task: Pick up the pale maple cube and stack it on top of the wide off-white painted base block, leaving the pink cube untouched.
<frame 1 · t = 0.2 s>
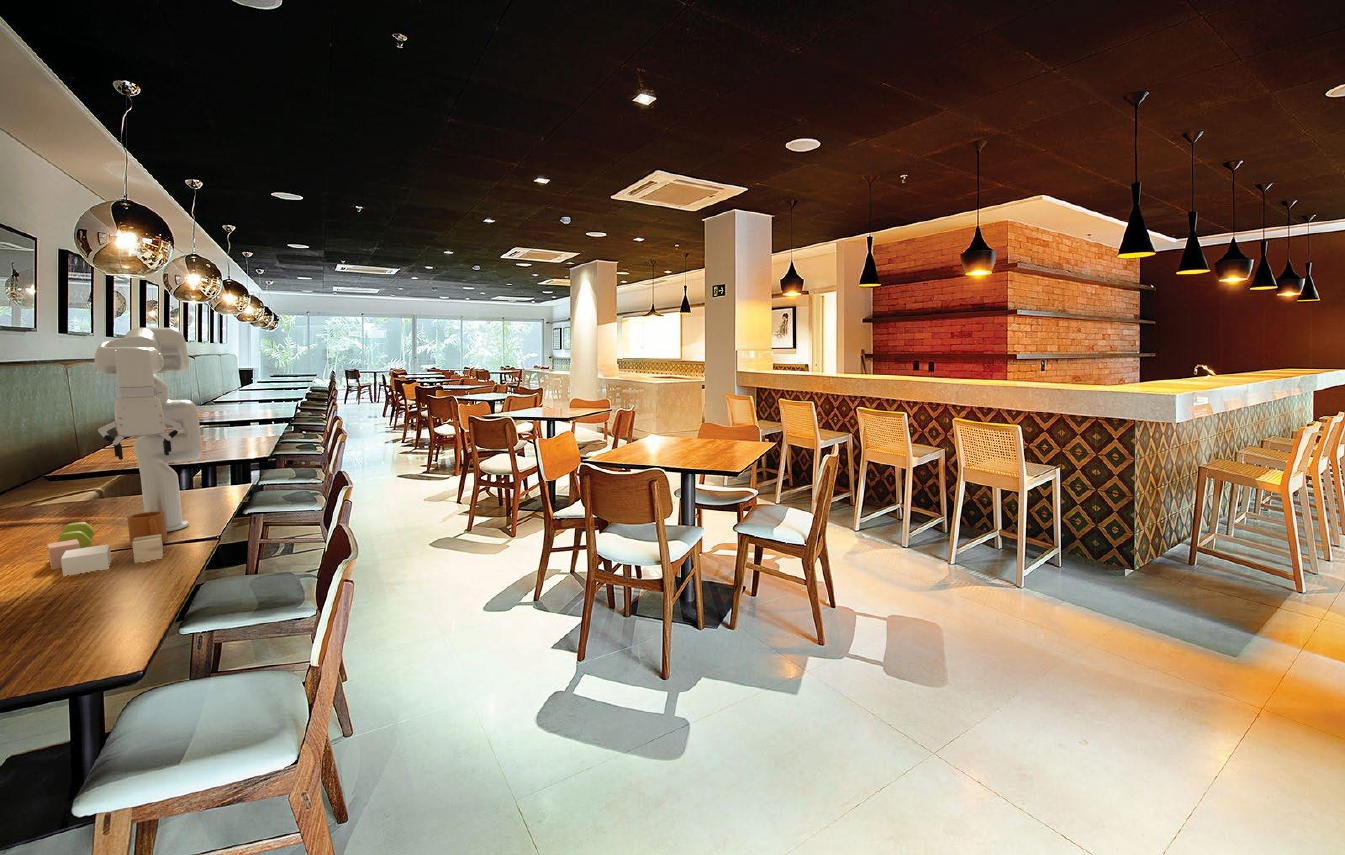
hand: (144, 457, 172), 30 cm above the table, tool pointing down, fingers open, 9 cm apart
dumbbell: (76, 551, 189), on the table
maple cube: (149, 559, 181), on the table
mug: (149, 544, 195), on the table
base block: (88, 569, 173), on the table
pink cube: (66, 564, 177), on the table
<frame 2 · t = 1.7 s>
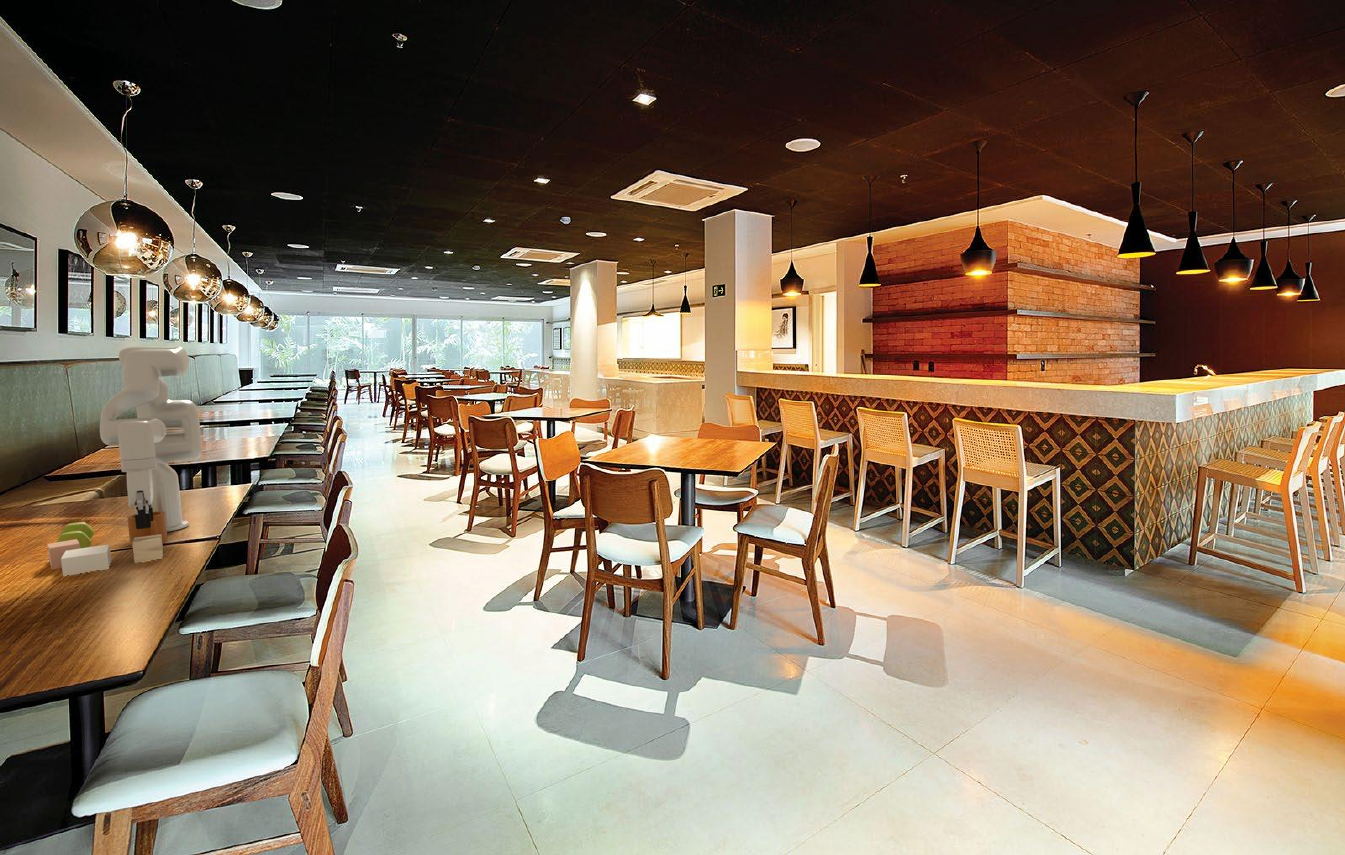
hand: (145, 524, 179), 10 cm above the table, tool pointing down, fingers open, 9 cm apart
nothing on the table moved.
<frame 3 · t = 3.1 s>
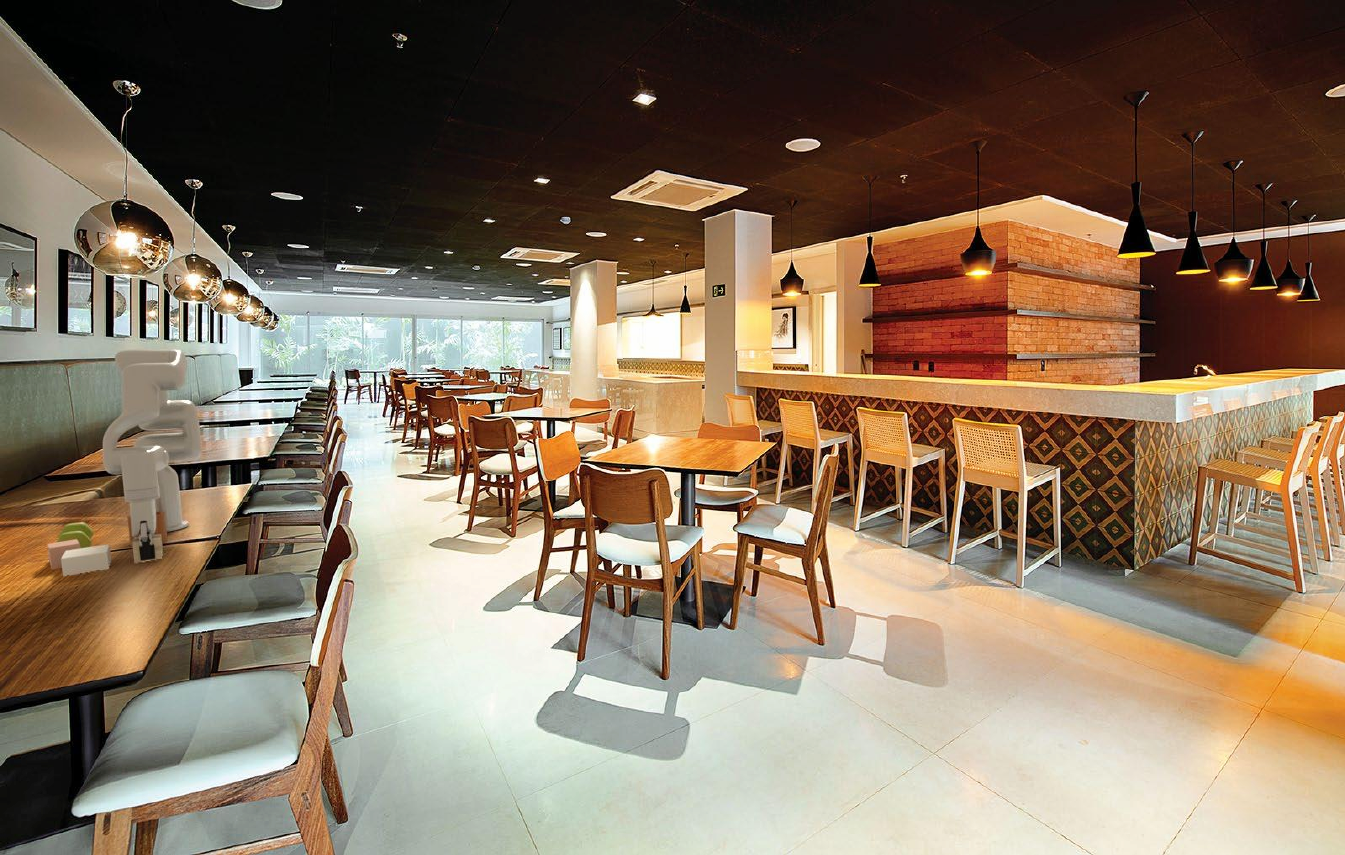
hand: (148, 555, 181), 1 cm above the table, tool pointing down, fingers closed on maple cube, 6 cm apart
maple cube: (149, 558, 181), on the table, touching gripper
everything else where it was.
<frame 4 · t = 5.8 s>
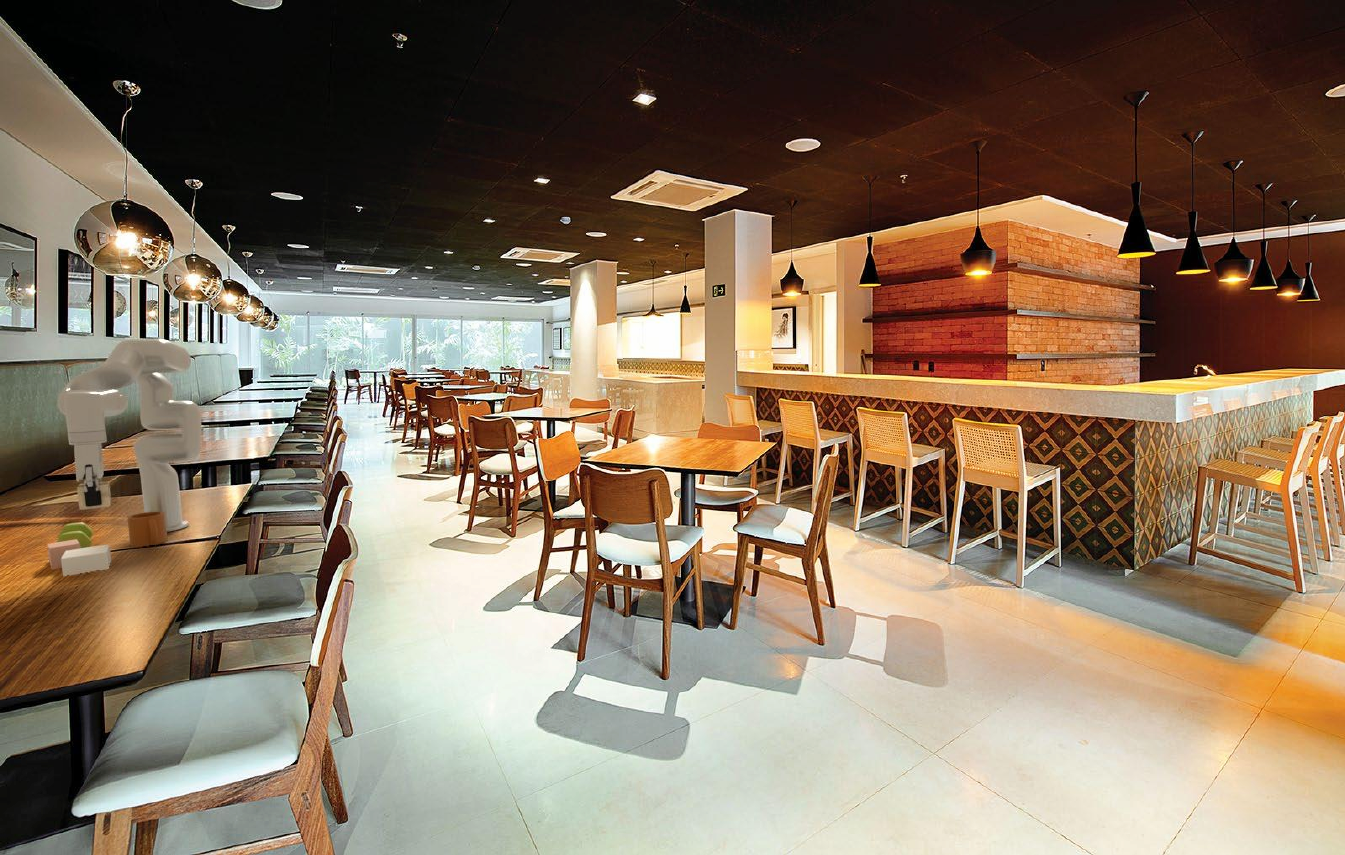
hand: (95, 502, 173), 18 cm above the table, tool pointing down, fingers closed on maple cube, 6 cm apart
maple cube: (95, 506, 173), point 17 cm above the table, touching gripper
everything else where it was.
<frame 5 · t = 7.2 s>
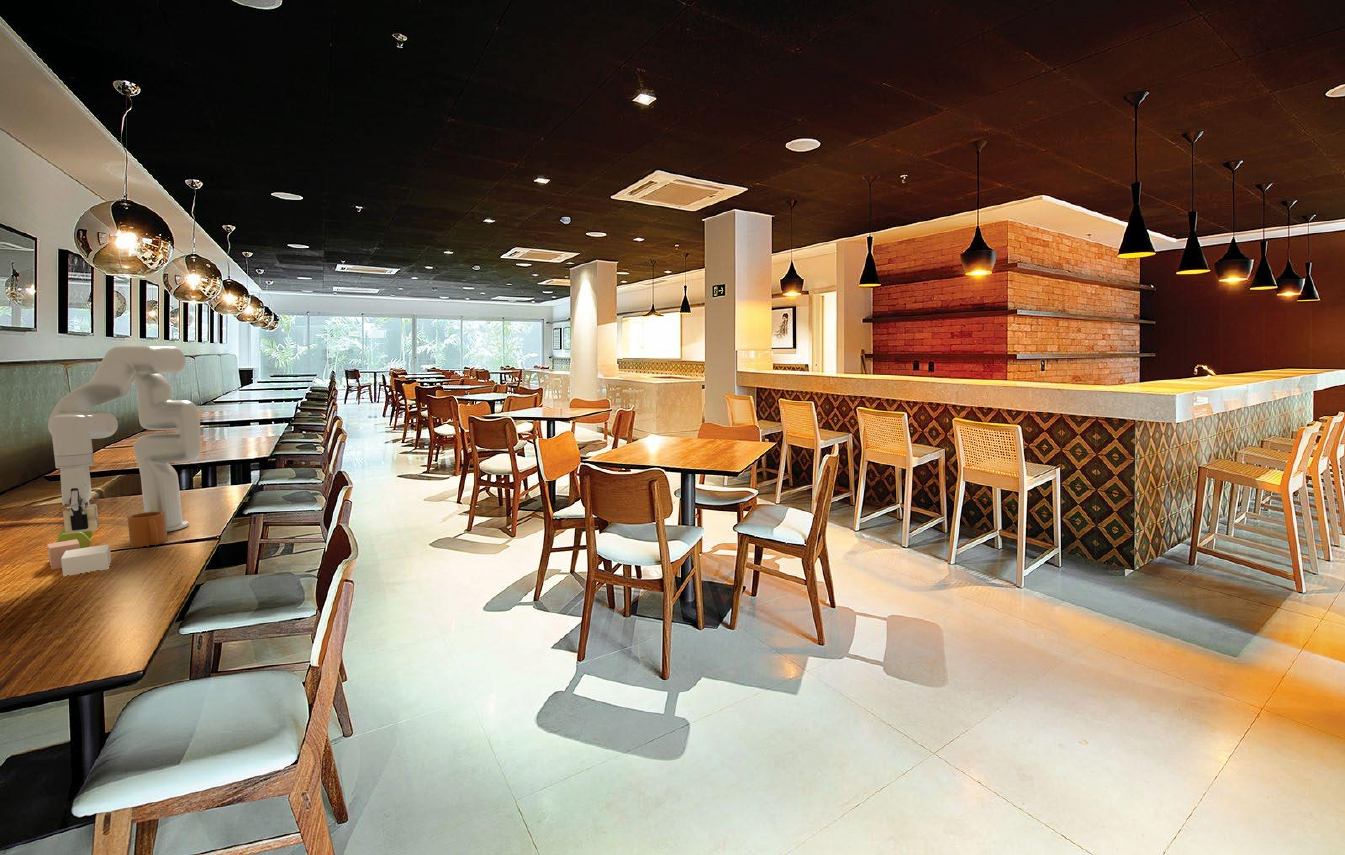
hand: (82, 526, 172), 12 cm above the table, tool pointing down, fingers closed on maple cube, 6 cm apart
maple cube: (82, 529, 172), point 11 cm above the table, touching gripper
everything else where it was.
when the fingers open (7 cm above the table, at t = 8.5 s): maple cube drops 1 cm, point 5 cm above the table.
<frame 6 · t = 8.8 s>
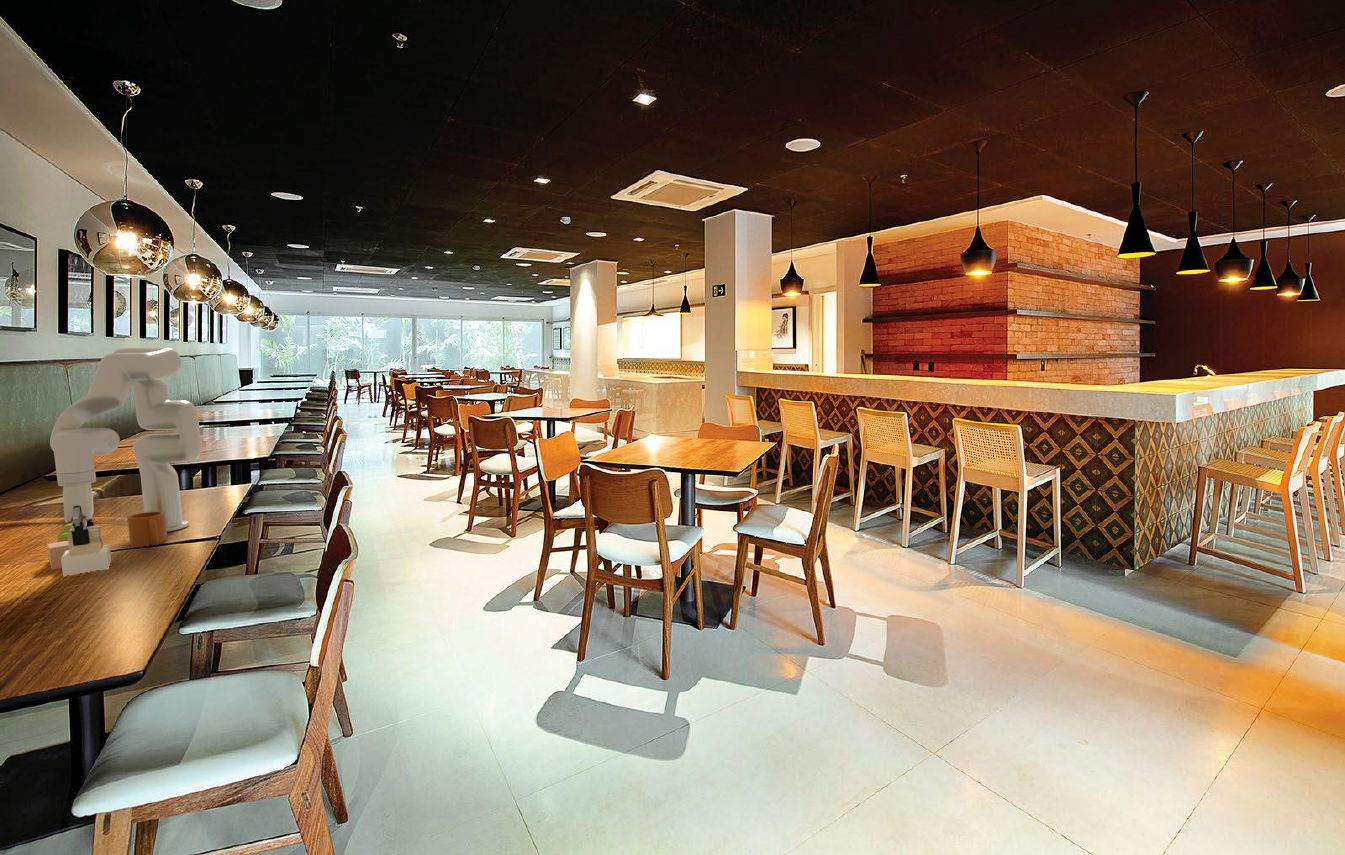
hand: (84, 540, 172), 8 cm above the table, tool pointing down, fingers open, 9 cm apart
maple cube: (86, 550, 173), point 5 cm above the table
everything else where it was.
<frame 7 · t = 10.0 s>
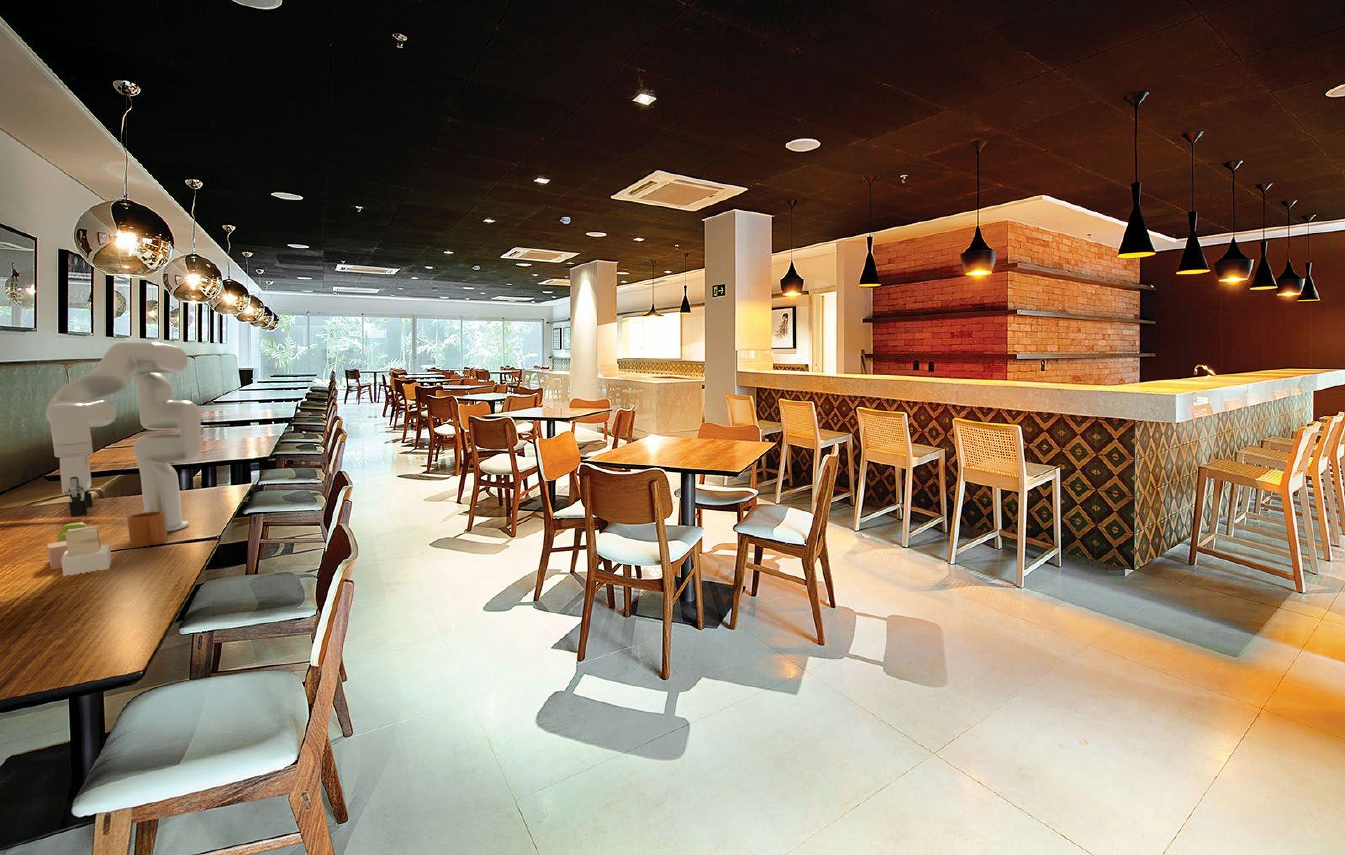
hand: (82, 511, 172), 16 cm above the table, tool pointing down, fingers open, 9 cm apart
maple cube: (84, 551, 173), point 5 cm above the table, touching base block
base block: (88, 569, 173), on the table, touching maple cube
everything else where it was.
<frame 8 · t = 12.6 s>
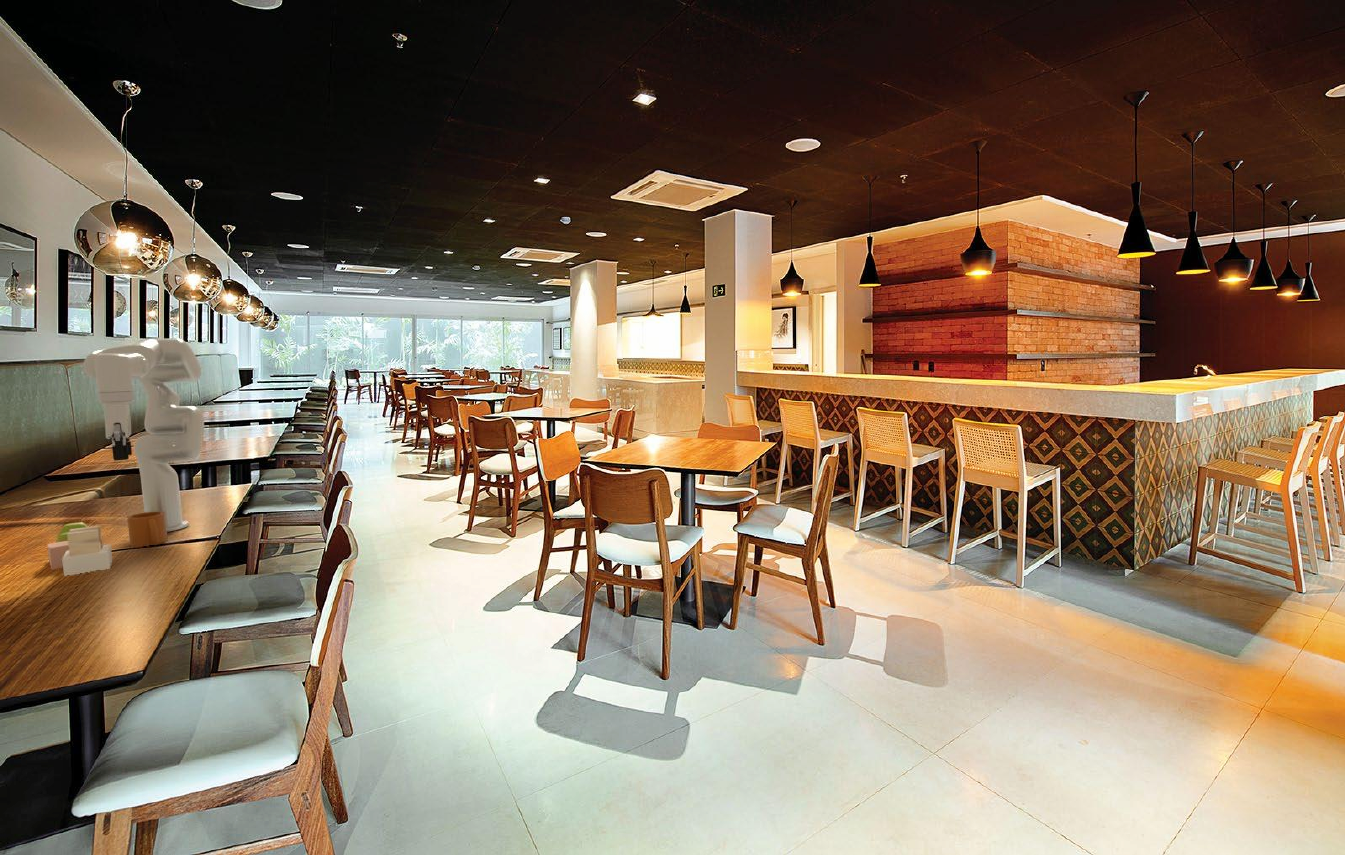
hand: (123, 457, 182), 28 cm above the table, tool pointing down, fingers open, 9 cm apart
nothing on the table moved.
at the end: maple cube 0.1 cm off-centre on the base block, point 5.0 cm above the base block's base; maple cube tilted 0°; the gripper is holding nothing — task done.
